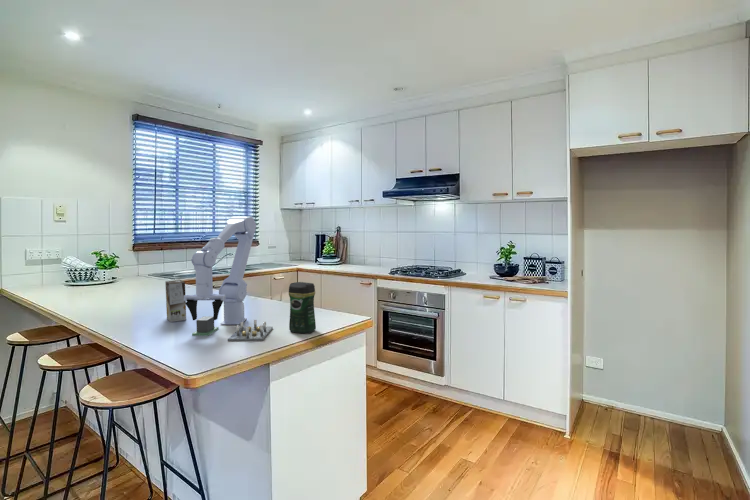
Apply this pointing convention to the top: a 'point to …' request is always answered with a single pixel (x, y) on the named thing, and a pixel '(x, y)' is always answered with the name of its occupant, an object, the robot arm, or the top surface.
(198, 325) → the grey block
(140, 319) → the top surface
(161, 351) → the top surface
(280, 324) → the top surface
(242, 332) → the peg board with balls
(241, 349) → the top surface
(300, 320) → the coffee jar
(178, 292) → the coffee box
